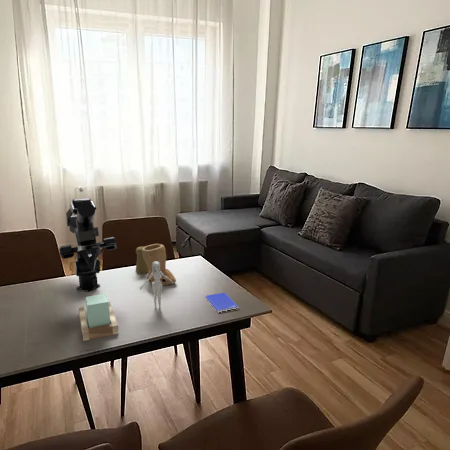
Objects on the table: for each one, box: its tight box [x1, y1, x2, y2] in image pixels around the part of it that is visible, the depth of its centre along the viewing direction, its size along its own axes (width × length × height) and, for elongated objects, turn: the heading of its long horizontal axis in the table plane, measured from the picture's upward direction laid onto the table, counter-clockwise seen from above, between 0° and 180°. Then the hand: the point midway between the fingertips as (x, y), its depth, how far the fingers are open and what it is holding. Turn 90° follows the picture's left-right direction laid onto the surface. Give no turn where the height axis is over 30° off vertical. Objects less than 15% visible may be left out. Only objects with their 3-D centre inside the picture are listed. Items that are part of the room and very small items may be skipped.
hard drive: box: [205, 292, 240, 314], centre depth 134 cm, size 2×8×12 cm
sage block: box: [85, 293, 110, 328], centre depth 112 cm, size 6×6×10 cm
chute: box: [78, 300, 120, 342], centre depth 117 cm, size 17×10×4 cm, turn 25°
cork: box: [135, 246, 149, 274], centre depth 161 cm, size 6×6×11 cm
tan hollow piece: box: [142, 243, 177, 286], centre depth 152 cm, size 15×12×15 cm
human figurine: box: [139, 261, 173, 313], centre depth 126 cm, size 12×4×18 cm, turn 122°
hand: (92, 270), depth 127 cm, fingers closed
